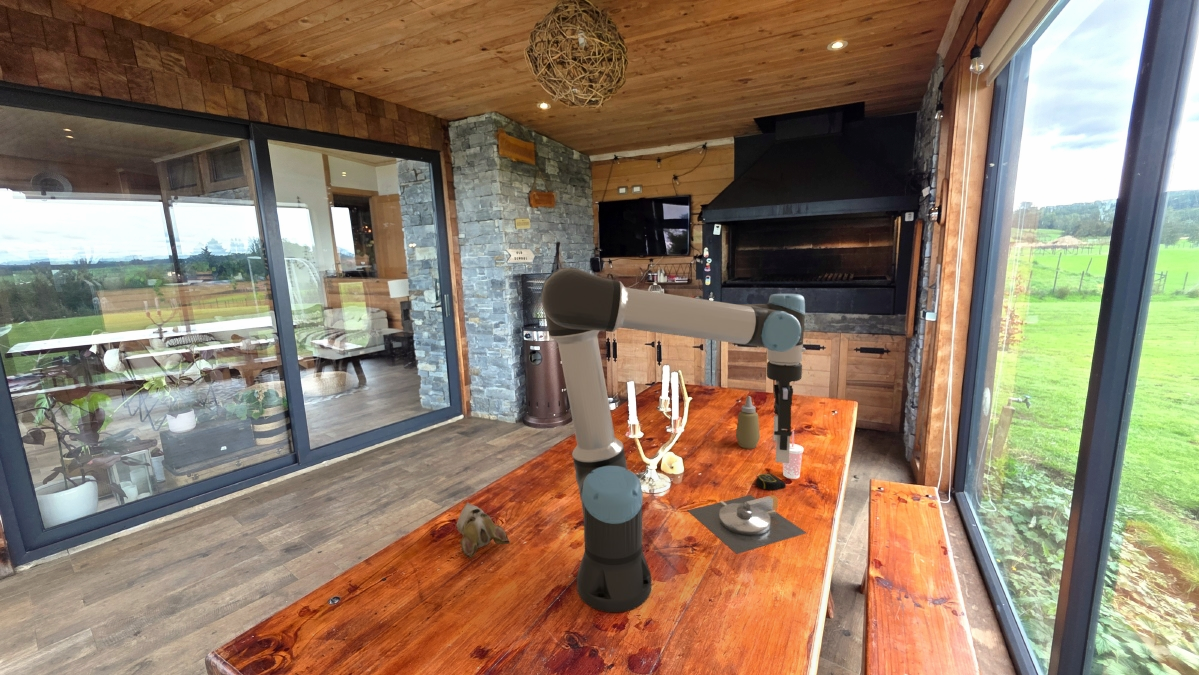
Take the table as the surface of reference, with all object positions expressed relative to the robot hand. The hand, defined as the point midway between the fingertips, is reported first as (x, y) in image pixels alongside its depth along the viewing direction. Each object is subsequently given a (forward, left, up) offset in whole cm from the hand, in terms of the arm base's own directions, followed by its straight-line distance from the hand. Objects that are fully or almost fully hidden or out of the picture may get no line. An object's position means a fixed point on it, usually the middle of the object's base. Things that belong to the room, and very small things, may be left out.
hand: (780, 451), depth 112 cm
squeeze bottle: (+28, +46, -21) cm, 57 cm away
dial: (-4, +5, -19) cm, 20 cm away
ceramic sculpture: (-68, +24, -21) cm, 75 cm away
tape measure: (+13, +18, -21) cm, 30 cm away
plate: (-6, +5, -20) cm, 22 cm away
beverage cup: (+25, +22, -21) cm, 39 cm away
